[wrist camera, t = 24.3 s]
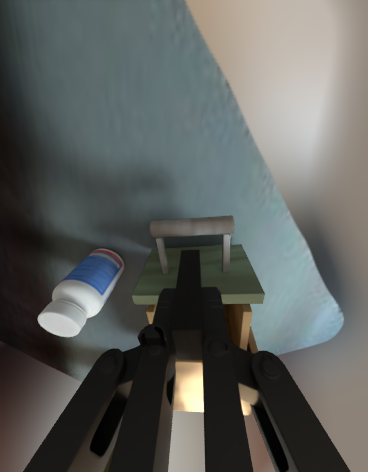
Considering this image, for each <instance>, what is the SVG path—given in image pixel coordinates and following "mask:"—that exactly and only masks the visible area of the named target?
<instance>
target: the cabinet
mask: <svg viewBox="0 0 368 472" xmlns="http://www.w3.org/2000/svg"><path fill="white" fill-rule="evenodd" d="M247 351H249V352H252V353H256V352H258V349H257V345H256V342H255V339H254V336H253V332H252V329H251V326H250V330H249V337H248V344H247ZM175 367H176V383H175V394H174V406H173V410H180V411H194V412H204V401H203V364H202V360H177V357H176V364H175ZM241 404H242V410H243V415H250V412H251V406H250V404H249V403H247V402H245V401H243V400H241Z"/></svg>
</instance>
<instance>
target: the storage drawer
mask: <svg viewBox="0 0 368 472" xmlns="http://www.w3.org/2000/svg"><path fill="white" fill-rule="evenodd" d="M233 232H234V219H233V216H219V217H205V218H190V219H176V220H161V221H151V223H150V234H151V236H152V238H156V243H157V248H158V249H153V250H152V252H151V254H150V256H149V258H148V261H147V263H146V265H145V267H144V269H143V272H142V274H141V276H140V278H139V280H138V283H137V285H136V287H135V289H134V291H133V294H132V299H133V301H134V304H135V305H148V307H147V310H146V314H147V317H148V320H149V324H152V322H153V318H154V314H155V310H156V306H157V303H158V298H159V294H160V293H161V292H162V290H163V289H164V288H176V284H177V277H178V270H179V263H180V256H181V250H197V249H200V262H201V278H202V287H217V288H218V290H219V291H220V292H221V297H222V303H223V309H224V315H225V321H226V327H227V332H228V336H229V337H230V339H231V341H232V342H233V343H234V344H235V345H236V346H238V347H240V348H242V349H244V350H246V351H247V344H248V337H249V330H250V324H251V317H252V310H251V307H250V304H263V301H264V296H265V293H264V291H263V289H262V287H261V285H260V283H259V280H258V278H257V276H256V274H255V272H254V270H253V268H252V266H251V264H250V261H249V259H248V257H247V255H246V253H245V251H244V249H243V247H242V245H241V244H240V245H230V234H231V233H233ZM213 234H223V235H222V245H220V246H200V247H179V248H165V244H164V239H163V237H178V236H196V235H213Z"/></svg>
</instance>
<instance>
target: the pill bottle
mask: <svg viewBox="0 0 368 472" xmlns="http://www.w3.org/2000/svg"><path fill="white" fill-rule="evenodd" d="M123 271H124V262H123V260H122V258H121V257H120V256H119V255H118V254H117V253H115V252H113V251H111V250H108V249H96V250H94V251H92V252H91V253H90V254H89V255H88V256H87V257H86V258H85V259H84V260H83V261H82V262H81V263H80V264H79V265H78V266H77V267H76V268H75V269H74V270H73V271H72V272H71V273H70V274H69V275H68V276H67V277H65V278H64V279H63V280H62V281H61V282H60V283H59V285H58V286H57V287H56V288H55V289H54V291H53V294H52V299H53V301H52V302H51V303H50V304H48V305H47V307H46V308H45V309H44V310H43V311H42V312H41V313H40V315H39V316H38V322H39V324H40V325H41V326H42V327H43V328H44V329H46V330H47V331H49V332H51V333H53V334H55V335H59V336H63V337H72V336H75V335H77V334H78V333H79V332H80V330H81V329H82V327H83V326H84V324H85V323H86V320H87V318H90V317H93V316H95V315H96V314H97V313H98V312H99V311H100V310H101V308H102V307H103V305H104V304H105V302H106V300H107V298H108V297H109V295H110V294H111V292H112V290H113V289H114V287H115V285H116V284H117V282H118V280H119V279H120V277H121V275H122V273H123Z"/></svg>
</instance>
